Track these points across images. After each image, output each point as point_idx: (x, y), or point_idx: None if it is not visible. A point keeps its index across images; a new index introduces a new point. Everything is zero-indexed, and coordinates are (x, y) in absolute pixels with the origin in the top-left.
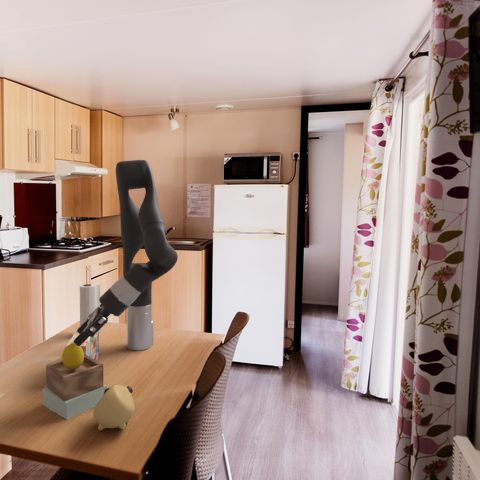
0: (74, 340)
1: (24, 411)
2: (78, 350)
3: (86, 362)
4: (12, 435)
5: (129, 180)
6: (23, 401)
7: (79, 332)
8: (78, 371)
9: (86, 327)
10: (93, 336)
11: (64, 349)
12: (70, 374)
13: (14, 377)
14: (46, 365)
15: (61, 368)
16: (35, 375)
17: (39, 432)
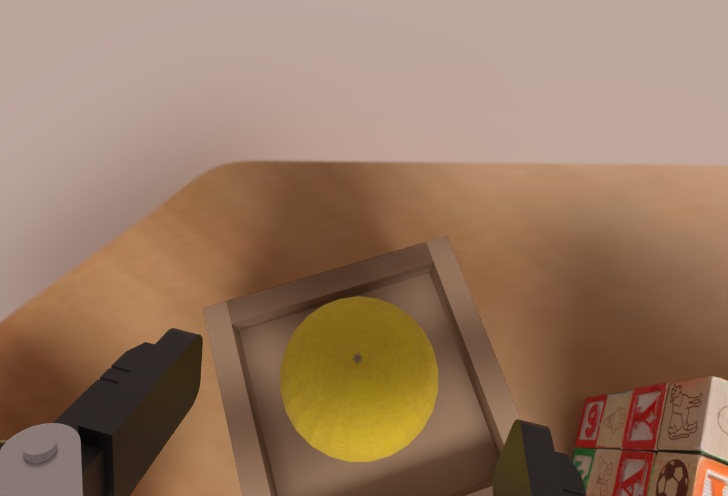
0: (168, 336)
1: (390, 220)
2: (296, 406)
3: (450, 494)
4: (241, 181)
5: None
6: (475, 221)
7: (504, 448)
8: (246, 401)
9: (33, 480)
10: None
11: (365, 300)
12: (228, 347)
13: (724, 199)
14: (441, 237)
15: (427, 326)
16: (722, 278)
17: (206, 256)
